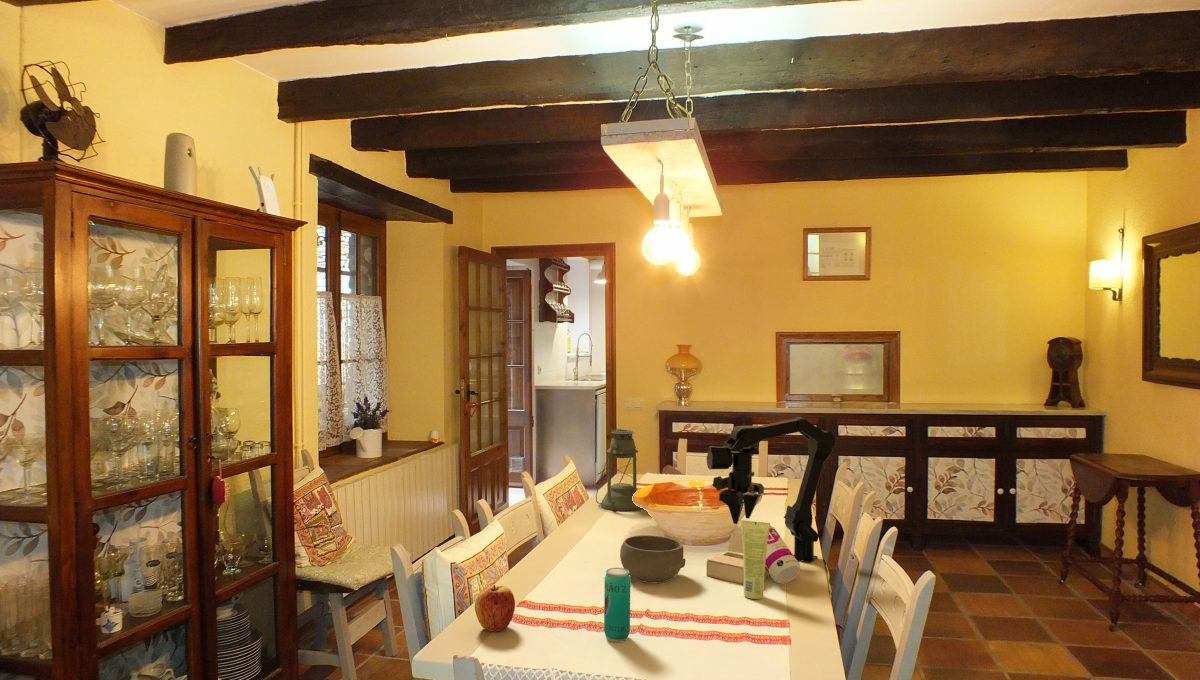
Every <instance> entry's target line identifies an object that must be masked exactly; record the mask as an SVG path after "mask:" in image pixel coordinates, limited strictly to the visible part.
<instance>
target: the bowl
mask: <svg viewBox="0 0 1200 680" xmlns="http://www.w3.org/2000/svg"><path fill="white" fill-rule="evenodd" d="M684 553H685V552H684V546H683V543H682V542H680V540H677V539H674V538H671V537H666V536H662V535H661V536H659V535H649V534H648V535H647V534H644V535H643V534H642V535H641V534H640V535H634V536H629V537H627V538H625V539H624V540H623V542H622V544H621V546H620V550H619V558H620V563H621V565H622V568H624V569H627V570H629V576H630V578H632V579H635V580H637V581H641V582H644V583H651V584H656V583H664V582H667V581H670V580H672V579H674V578H675V577H676V576H677V575H678V573H680V570H681V569H682V568H684V567H685V565H686V558H684Z"/></svg>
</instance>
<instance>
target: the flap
mask: <svg viewBox="0 0 1200 680" xmlns="http://www.w3.org/2000/svg"><path fill="white" fill-rule="evenodd" d="M729 537H730V539H729V543H728V548H727V551H728V552H733V553H738V554H743V539H742V534H741V535H740V534H736V533H730V536H729Z"/></svg>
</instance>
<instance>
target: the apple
mask: <svg viewBox="0 0 1200 680" xmlns="http://www.w3.org/2000/svg"><path fill="white" fill-rule="evenodd" d="M515 610H516V599H515V596H514V593H513V591H512V590H511V588H509V587H508V586H505V585H495V584H494V585H490V586H487V587H485V588H483V589H481V590H480V591H479V592H478V593H477V595H476V597H475V601H474V612H475V614H476V615H475V616H476V618H477V620H478V622H479V624H480V626H481V627H482V628H483V629H484V630H486V631H488V632H502V631H505V629H506V628H508V626H509V625H510V623H511V621H512V619H513V617H514V613H515Z"/></svg>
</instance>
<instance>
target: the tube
mask: <svg viewBox="0 0 1200 680" xmlns="http://www.w3.org/2000/svg"><path fill="white" fill-rule="evenodd" d="M740 526H741V535H742V539H743V559H744V584H743V595H744V597H745V598H748V599H752V600H758V599H759V600H761V599H763V598H764V590H765V589H764V587H765V586H764V585H765V579H764V575H765V562H766V551H767V542H768V535H769V529H770V526H771V522H766V521H753V520H743V519H741V520H740Z"/></svg>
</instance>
